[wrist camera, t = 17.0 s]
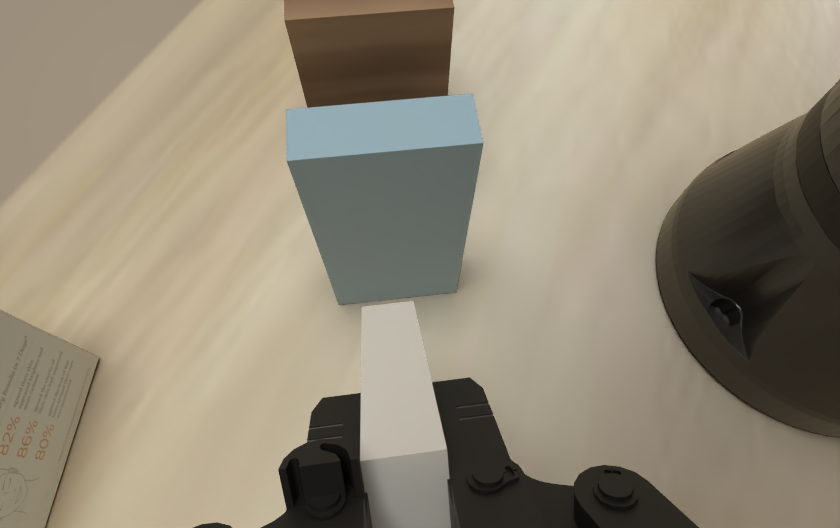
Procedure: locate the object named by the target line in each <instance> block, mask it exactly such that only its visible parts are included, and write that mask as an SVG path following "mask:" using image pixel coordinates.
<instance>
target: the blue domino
mask: <svg viewBox="0 0 840 528" xmlns="http://www.w3.org/2000/svg"><path fill="white" fill-rule="evenodd" d="M286 145H287V163H288V166H289V169H290V171H291V174H292V177H293V180H294V182H295V185H296V188H297V191H298V193H299V196H300V199H301V202H302V204H303V207H304V210H305V213H306V215H307V218H308V221H309V224H310V226H311V229H312V232H313V235H314V237H315V240H316V243H317V246H318V248H319V251H320V254H321V257H322V259H323V262H324V265H325V268H326V271H327V273H328V276H329V279H330V282H331V284H332V287H333V290H334V293H335V295H336V298H337V301H338V304H339V305H344V304H353V303H362V302H371V301H381V300H390V299H399V298H409V297H418V296H427V295H436V294H446V293H455V292H456V291H457V285H458V280H459V274H460V269H461V263H462V258H463V252H464V247H465V241H466V236H467V230H468V225H469V220H470V214H471V209H472V203H473V198H474V192H475V187H476V181H477V176H478V170H479V165H480V159H481V154H482V148H483V138H482V134H481V129H480V124H479V120H478V115H477V110H476V106H475V101H474V96H473V94H462V95H450V96H439V97H427V98H415V99H404V100H392V101H380V102H369V103H357V104H346V105H334V106H322V107H311V108H299V109H287V110H286Z"/></svg>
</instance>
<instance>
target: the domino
mask: <svg viewBox="0 0 840 528" xmlns="http://www.w3.org/2000/svg"><path fill="white" fill-rule="evenodd" d="M453 16H454V4H453V0H284V18H285V24H286V28H287V32H288V35H289V39H290V43H291V47H292V50H293V54H294V58H295V62H296V66H297V69H298V73H299V77H300V81H301V84H302V88H303V92H304V96H305V100H306V103H307V107H308V108H311V107H322V106H334V105H346V104H357V103H369V102H380V101H392V100H404V99H415V98H427V97H439V96H447V95H448V82H449V69H450V55H451V42H452V29H453Z"/></svg>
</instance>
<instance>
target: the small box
mask: <svg viewBox="0 0 840 528" xmlns="http://www.w3.org/2000/svg"><path fill="white" fill-rule="evenodd" d="M97 362H98V357H97V356H96V355H94V354H92V353H90V352H88V351H85V350H83V349H81V348H79V347H77V346H75V345H73V344H70V343H68V342H66V341H64V340H62V339H60V338H58V337H56V336H54V335H52V334H50V333H47V332H45V331H43V330H41V329H39V328H37V327H35V326H33V325H31V324H29V323H26V322H24V321H22V320H20V319H18V318H16V317H14V316H12V315H10V314H8V313H6V312H4V311H2V310H0V528H45V526H46V522H47V519H48V516H49V513H50V510H51V506H52V503H53V500H54V497H55V494H56V491H57V488H58V484H59V481H60V478H61V475H62V472H63V469H64V466H65V463H66V459H67V456H68V453H69V450H70V447H71V444H72V441H73V437H74V434H75V431H76V428H77V425H78V422H79V419H80V416H81V413H82V409H83V406H84V403H85V400H86V397H87V393H88V390H89V387H90V384H91V381H92V378H93V375H94V371H95V368H96V365H97Z"/></svg>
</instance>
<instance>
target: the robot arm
mask: <svg viewBox="0 0 840 528" xmlns="http://www.w3.org/2000/svg"><path fill="white" fill-rule="evenodd" d="M656 263H657V275H658V281H659V286H660V290H661V294H662V297H663V300H664V303H665V306H666V308H667V311H668V313H669V315H670V317H671V320H672V322H673V324H674V325H675V327H676V329H677V331H678V333H679V334H680V336H681V337H682V339H683V340H684V342H685V343H686V345H687V346H688V348H689V349H690V350H691V352H692V353H693V354H694V355H695V357H696V358H697V359H698V360H699V361H700V363H701V364H702V365H703V366H704V367H705V368H706V369H707V370H708V371H709V372H710V373H711V374H712V375H713V376H714V377H715V378H716V379H717V380H718V381H719V382H720V383H722V384H723V385H724V386H725V387H726V388H728V389H729V390H730V391H731V392H733V393H734V394H735V395H737V396H738V397H739V398H741V399H742V400H744V401H745V402H747V403H748V404H750V405H751V406H753V407H755V408H756V409H758V410H760V411H762V412H763V413H765V414H767V415H769V416H771V417H773V418H775V419H777V420H780V421H782V422H784V423H786V424H789V425H792V426H794V427H797V428H800V429H803V430H806V431H810V432H813V433H818V434H822V435H827V436H833V437H840V79H839V81H838V82H837V83H836V84H835V85H834V86H833V87H832V88H831V89H830V90H829V91H828V92H827V93H826V94H825V95H824V96H823V97H822V98H821V100H820V101H819V102H818V103H817V104H816V105H815V106H814V107H813V108H812V109H811V110H810V111H809V112H807V113H806V114H804V115H802V116H800V117H798V118H796V119H794V120H792V121H790V122H788V123H786V124H784V125H782V126H780V127H779V128H777V129H775V130H773V131H771V132H769V133H767V134H765V135H763V136H762V137H760V138H758V139H756V140H754V141H752V142H751V143H749V144H747V145H745V146H743V147H742V148H740V149H738V150H736V151H733V152H731V153H729V154H727V155H725V156H723V157H721V158H720V159H718V160H717V161H715V162H714V163H712V164H711V165H710V166H708V167H707V168H706V169H705V170H704V171H702V172H701V173H700V174H699V175H698V176H697V177H696V178H695V179H694V180H693V181H692V183H691V184H690V185H689V186H688V187H687V189H686V190H685V191H684V192H683V194H682V195H681V196H680V197H679V198H678V200H677V201H676V202H675V203H674V205H673V206H672V207H671V209H670V210H669V212H668V214H667V216H666V218H665V220H664V222H663V225H662V228H661V231H660V234H659V239H658V244H657V257H656ZM278 470H279V475H280V480H281V484H282V489H283V494H284V498H285V503H286V508H287V510H286V512H285V513H284V514H283V515H282V516H280V517H279V518H277V519H276V520H275V521H273V522H271V523H269V524H267V525H265V526H263V527H261V528H699V527H698V526H696V525H695V524H694V523H693V522H692V521H691V520H690V519H689V518H688V517H687V516H686V515H684V514H683V513H682V512H681V511H680V510H679V509H678V508H677V507H676V506H675V505H674V504H672V503H671V502H670V501H669V500H668V499H667V498H666V497H665V496H664V495H663V494H661V493H660V492H659V491H658V490H657V489H656V488H655V487H654V486H653V485H652V484H651V483H649V482H648V481H647V480H646V479H644V478H643V477H641V476H640V475H638V474H637V473H635V472H633V471H630V470H627V469H625V468H622V467H617V466H607V465H602V466H597V467H591V468H589V469H587V470H585V471H584V472H582V473H580V474H579V476H578V477H577V479H576V481H575V482H574V486H567V485H558V484H551V483H546V482H541V481H538V480H535V479H533V478H530V477H528V476H527V475H525V474H524V472H523V471H522V469H521V468H520V467H519V465H518V464H516V463H514V462H513V461H511V459H510V457H509V454H508V452H507V449H506V446H505V444H504V441H503V439H502V436H501V434H500V431H499V428H498V426H497V423H496V421H495V418H494V416H493V413H492V410H491V408H490V405H489V404H488V400H487V398H486V395H485V392H484V390H483V388H482V387H481V386H479V385H478V384H477V383H476V382H475V381H473V380H472V379H471V378H463V379H455V380H447V381H439V382H432V380H431V376H430V371H429V367H428V363H427V358H426V354H425V349H424V345H423V341H422V336H421V332H420V327H419V323H418V318H417V314H416V310H415V305H414V301H407V302H398V303H390V304H381V305H373V306H364V307H362V331H361V393H358V394H350V395H342V396H334V397H327V398H322V399H321V401H320V402H319V403H318V405H317V406H316V407H315V408H314V410H313V411H312V413H311V419H310V426H309V432H308V438H307V443H305V444H303V445H302V446H300V447H298V448H296V449H294V450H293V451H292V452H291V453H290V454H288V455H287V456H286V457H285V458H284V459H283V461H282V463H281V465H280V467H279V469H278ZM194 528H232V527H231V526H229V525H225V524H221V523H209V524H201V525H199V526H196V527H194Z"/></svg>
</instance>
